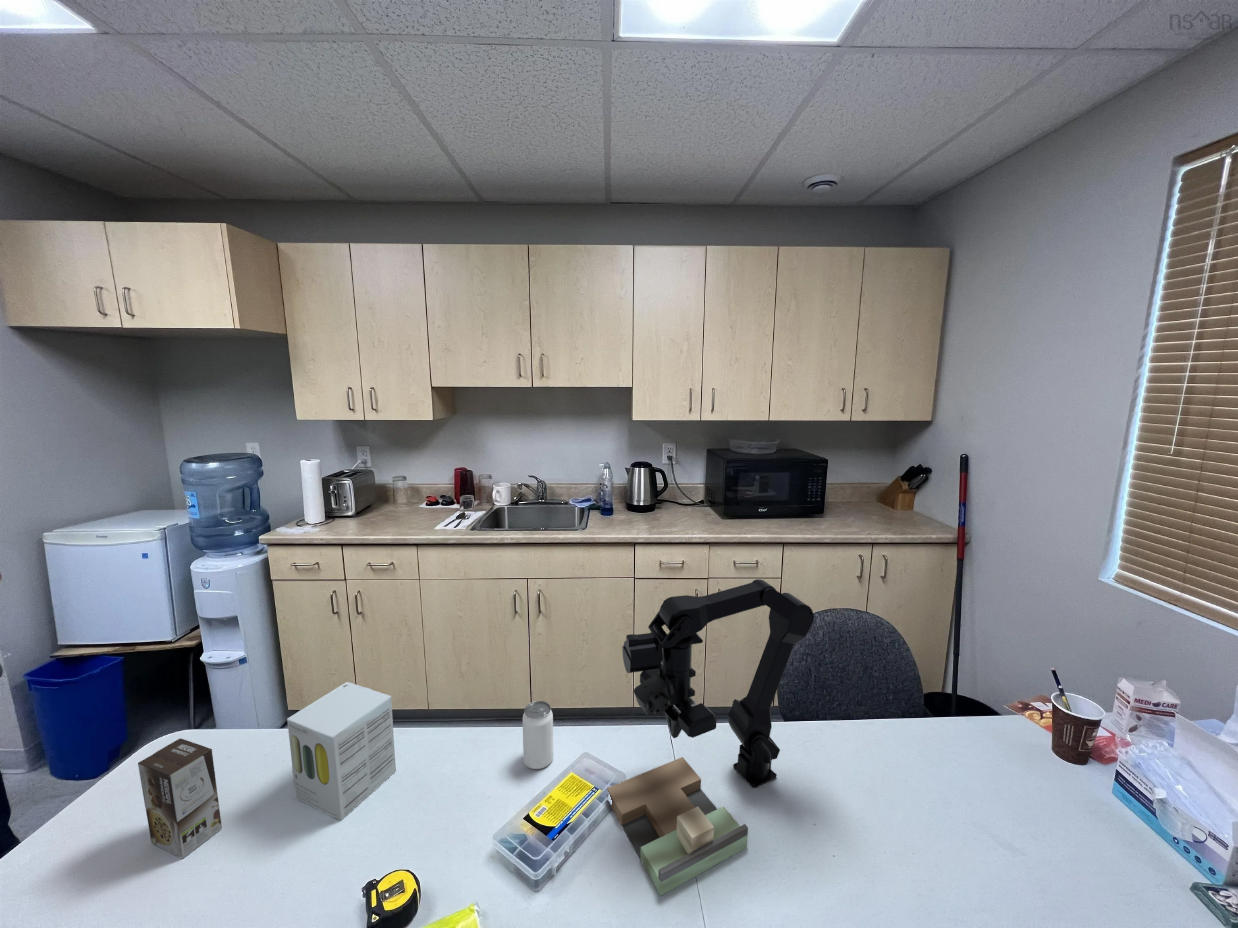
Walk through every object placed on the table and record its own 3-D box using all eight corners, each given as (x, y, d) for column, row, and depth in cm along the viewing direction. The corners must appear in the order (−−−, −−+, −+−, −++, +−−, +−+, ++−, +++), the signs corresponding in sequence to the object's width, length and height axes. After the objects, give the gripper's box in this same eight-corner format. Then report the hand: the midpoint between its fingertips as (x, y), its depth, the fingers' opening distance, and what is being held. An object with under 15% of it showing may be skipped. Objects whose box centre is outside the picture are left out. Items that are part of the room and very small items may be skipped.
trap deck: (606, 799, 91) (606, 781, 91) (682, 767, 99) (682, 750, 99) (660, 895, 74) (661, 873, 73) (747, 847, 82) (748, 827, 81)
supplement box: (292, 799, 91) (284, 718, 88) (353, 752, 103) (347, 679, 101) (340, 822, 86) (332, 737, 84) (397, 770, 98) (392, 694, 96)
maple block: (697, 825, 83) (698, 806, 83) (713, 847, 79) (713, 826, 79) (676, 836, 81) (677, 816, 81) (691, 858, 77) (692, 837, 77)
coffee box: (224, 827, 85) (214, 748, 83) (181, 860, 79) (169, 775, 76) (192, 812, 88) (181, 735, 85) (148, 843, 82) (136, 761, 79)
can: (547, 772, 98) (546, 721, 96) (518, 767, 99) (517, 716, 97) (557, 750, 104) (556, 701, 102) (530, 745, 105) (529, 697, 104)
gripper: (617, 650, 94) (617, 719, 97) (667, 703, 78) (665, 786, 80) (664, 637, 99) (662, 704, 102) (720, 685, 83) (716, 763, 85)
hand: (674, 736), depth 92 cm, fingers closed
